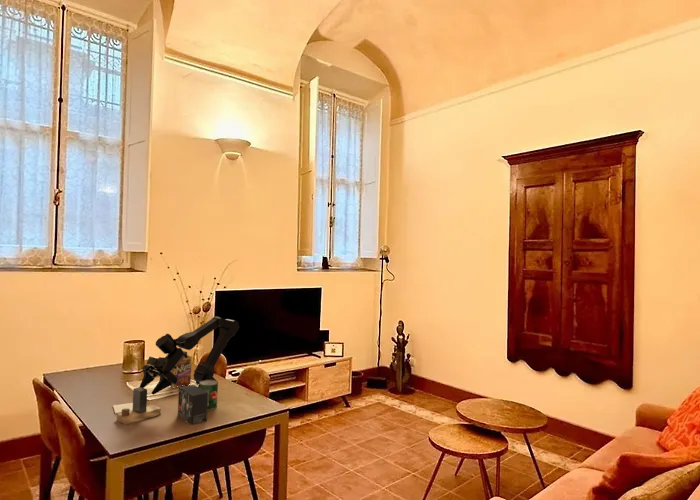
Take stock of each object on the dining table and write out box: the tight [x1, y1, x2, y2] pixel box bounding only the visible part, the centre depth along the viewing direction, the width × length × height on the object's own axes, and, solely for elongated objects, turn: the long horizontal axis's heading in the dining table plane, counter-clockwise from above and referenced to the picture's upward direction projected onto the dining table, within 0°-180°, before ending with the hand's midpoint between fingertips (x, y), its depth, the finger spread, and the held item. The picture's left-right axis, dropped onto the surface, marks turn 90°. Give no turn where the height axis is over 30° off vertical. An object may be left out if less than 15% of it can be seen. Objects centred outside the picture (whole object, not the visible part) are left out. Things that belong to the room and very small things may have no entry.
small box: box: [177, 384, 208, 426], centre depth 188 cm, size 13×7×12 cm, turn 45°
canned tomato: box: [198, 379, 219, 411], centre depth 202 cm, size 8×8×11 cm
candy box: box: [171, 353, 193, 388], centre depth 229 cm, size 9×4×15 cm, turn 134°
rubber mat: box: [112, 402, 133, 415], centre depth 196 cm, size 10×10×1 cm
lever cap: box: [132, 386, 148, 414], centre depth 187 cm, size 3×5×9 cm, turn 55°
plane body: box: [116, 404, 162, 425], centre depth 187 cm, size 15×6×5 cm, turn 145°
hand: (145, 391), depth 189 cm, fingers open, 9 cm apart
